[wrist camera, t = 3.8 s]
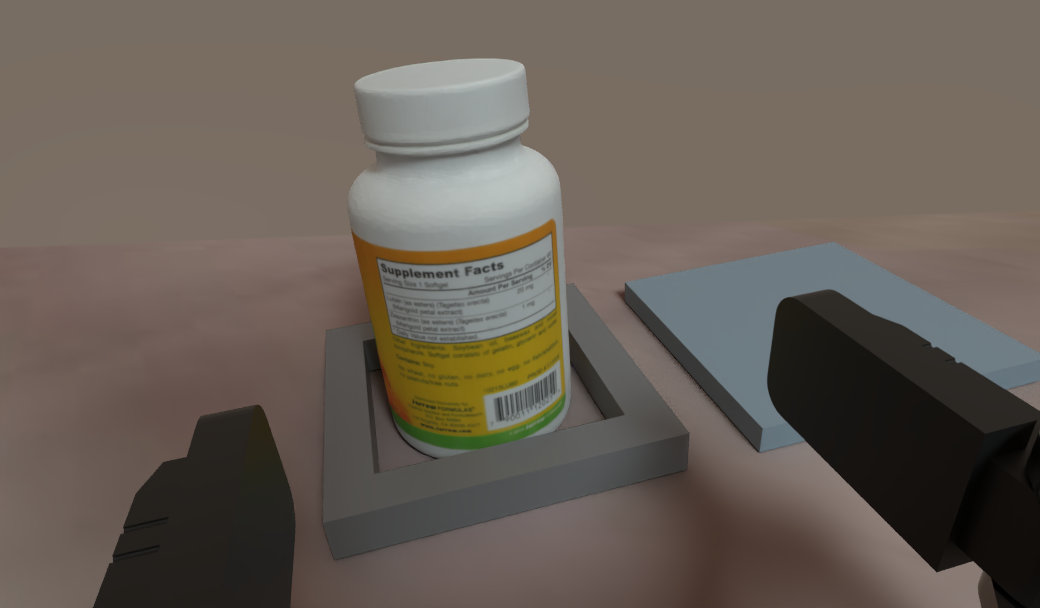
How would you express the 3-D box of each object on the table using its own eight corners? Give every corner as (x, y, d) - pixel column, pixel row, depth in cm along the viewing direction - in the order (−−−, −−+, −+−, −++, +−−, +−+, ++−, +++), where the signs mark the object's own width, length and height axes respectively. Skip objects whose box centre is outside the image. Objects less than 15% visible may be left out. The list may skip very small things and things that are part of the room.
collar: (334, 560, 15) (322, 523, 14) (333, 359, 22) (325, 330, 22) (687, 469, 16) (689, 432, 16) (574, 311, 24) (573, 283, 24)
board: (759, 452, 17) (762, 428, 16) (625, 300, 25) (624, 282, 24) (1039, 380, 18) (1047, 357, 18) (830, 259, 26) (833, 241, 26)
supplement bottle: (432, 352, 22) (381, 58, 18) (585, 363, 21) (574, 48, 16) (362, 457, 18) (271, 99, 13) (552, 480, 17) (524, 91, 12)
